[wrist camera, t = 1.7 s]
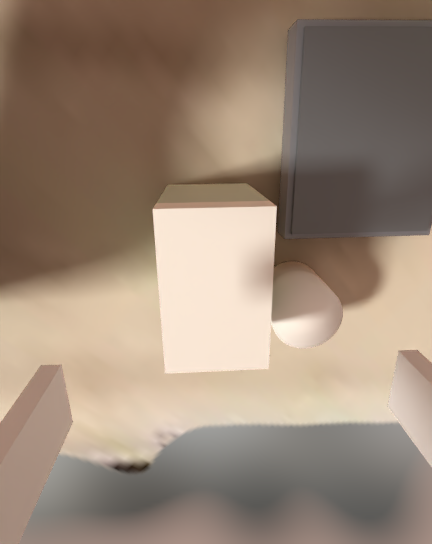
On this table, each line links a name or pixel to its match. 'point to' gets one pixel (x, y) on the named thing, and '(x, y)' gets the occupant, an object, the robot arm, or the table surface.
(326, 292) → the cream rounded domed part
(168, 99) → the table surface
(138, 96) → the table surface
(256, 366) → the carton
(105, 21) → the table surface
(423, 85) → the podium
